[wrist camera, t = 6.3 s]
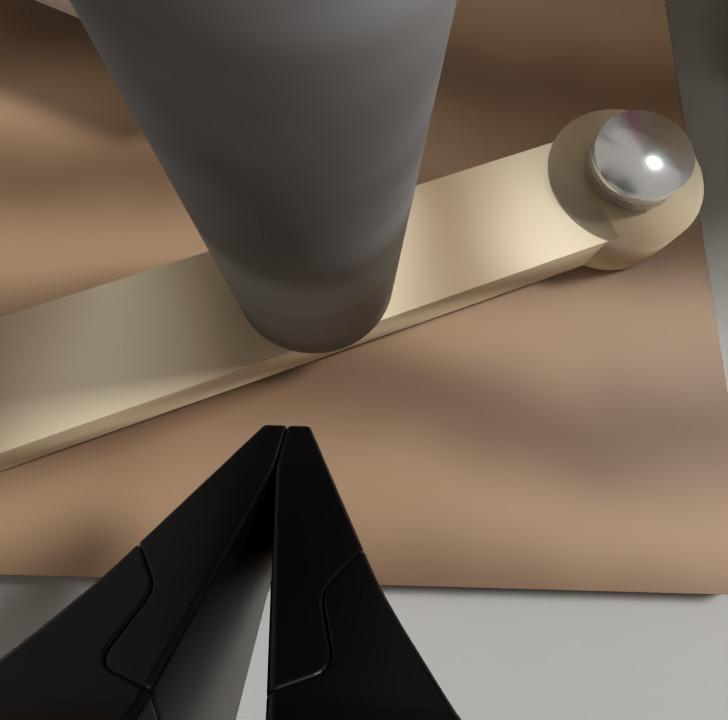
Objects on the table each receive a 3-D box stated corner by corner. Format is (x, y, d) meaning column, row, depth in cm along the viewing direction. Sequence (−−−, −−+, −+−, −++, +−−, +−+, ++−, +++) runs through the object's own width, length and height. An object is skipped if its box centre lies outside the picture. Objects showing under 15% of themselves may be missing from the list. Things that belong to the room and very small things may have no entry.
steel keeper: (654, 167, 18) (729, 87, 14) (614, 286, 17) (685, 231, 13) (8, -87, 20) (-64, -210, 16) (-72, 3, 19) (-168, -110, 15)
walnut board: (733, 588, 15) (760, 595, 14) (-228, 562, 15) (-269, 567, 14) (642, -25, 22) (656, -50, 21) (-31, -64, 21) (-50, -91, 20)
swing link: (628, 127, 18) (1099, -493, 7) (698, 243, 17) (1404, -269, 6) (-97, 358, 15) (-1432, -61, 4) (-72, 519, 14) (-1885, 610, 3)
